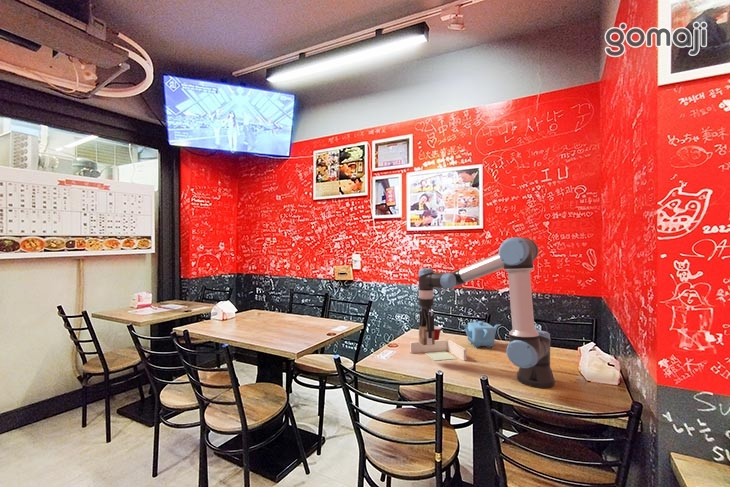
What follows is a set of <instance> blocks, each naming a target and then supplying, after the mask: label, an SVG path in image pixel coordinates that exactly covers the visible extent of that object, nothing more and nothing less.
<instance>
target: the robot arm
mask: <svg viewBox="0 0 730 487" xmlns="http://www.w3.org/2000/svg"><path fill="white" fill-rule="evenodd" d="M538 254H539V247H538V245H537V243H536V242H535V241H534V240H533V239H531V238H528V237H519V236H517V237H516V236H515V237H509V238H507V239H505V240H504V241H502V243H501V244H500V246H499V249H498V253H496V254H494V255H491V256H489V257H486V258H484V259H482V260H479V261H477V262H475V263H472V264H469V265H467V266H464V267H462V268H460V269H457V270H454V271H452V272H451V271H450V272H434V269H433V268H429V267H427V268H420V269H419V270H418V306H420V307H419V308H418V311H419V318H418V319H419V322H418V323H419V325H418V327H425V326H427V331H426V332H427V345H429V344H432V332H433V331H434V326H435V321H434V320H435V318H434V316H435V311H432V307H433V306H434V305H435V304H434V288H437V289H438V288H439V289H446V290H447V289H454V288H455V287H458V286H462V285H464V284H466V283H467V282H468V283H469V282H471V281H473V280H476V279H480V278H481V277H482V278H483V277H485V276H487V275H491V274H493V273H495V272H498V271H501V270H503V271H504V272H506V273H507V277H508V288H509V291H508V292H509V302H510V303H509V304H510V314H511V316H510V318H511V325H512V326H511V328H512V329H511V330H510V331H509V332H508V335H509V337H508V339H509V343H508V344H507V346H506V356H507V358H508V360H509V361H510V363H512V364H513V365H514V366H516V367H517V368H518V371H517V374H516V379H517V381H519V383H522V384H524V385H525V386H529V387H533V388H538V389H548V388H549V389H550V388H554V387H555V385H556V384H555V383H556V382H555V381H556V379H555V377H554V373H553V370H552V368H551V340H552V339H551V334H550V333H549V332H548V331H545V330H540V329H536V328H535V319H534V318H535V317H534V307H533V292H532V282H531V281H532V280H531V272H532V271H533V270H534V261H535V260H536V259H537V257H538Z"/></svg>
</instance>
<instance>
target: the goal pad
mask: <svg viewBox="0 0 730 487" xmlns="http://www.w3.org/2000/svg"><path fill="white" fill-rule="evenodd" d="M424 354H425V355H426V356H428V358H430V359H431V360H432V361H435V362H436V361H437V362H438V361H448V360H451V361H452V360H457V358H458V357H455V355H453V354H451V353H450V352H448V351H434V352H424Z"/></svg>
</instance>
